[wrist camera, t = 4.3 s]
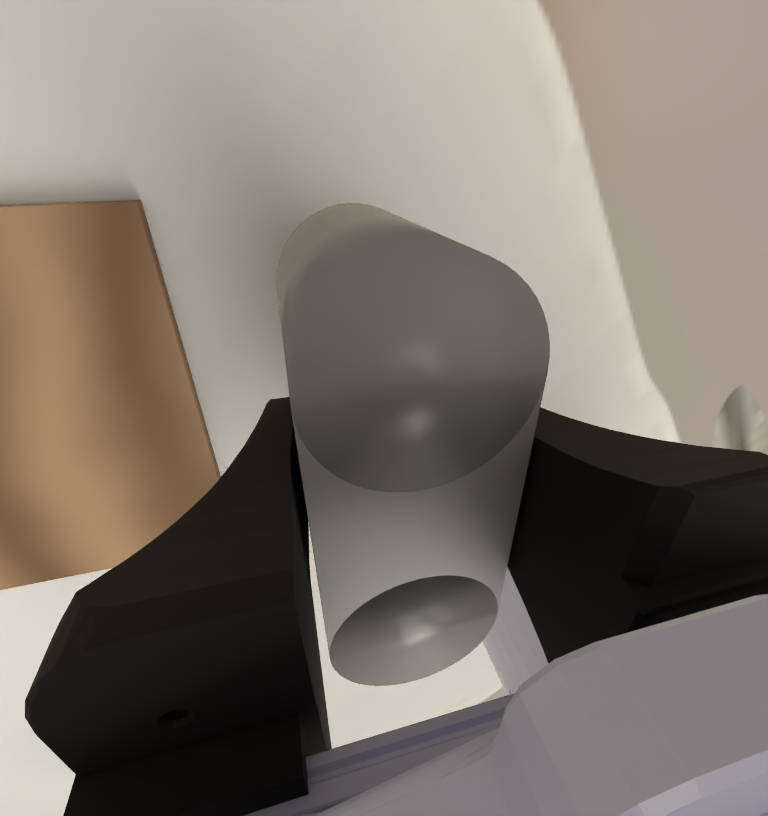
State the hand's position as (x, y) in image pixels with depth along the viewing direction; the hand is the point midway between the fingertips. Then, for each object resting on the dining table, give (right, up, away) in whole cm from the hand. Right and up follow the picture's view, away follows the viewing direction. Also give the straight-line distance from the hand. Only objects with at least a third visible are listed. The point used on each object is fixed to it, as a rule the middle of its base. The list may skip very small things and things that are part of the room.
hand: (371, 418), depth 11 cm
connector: (0, +1, +1) cm, 2 cm away
